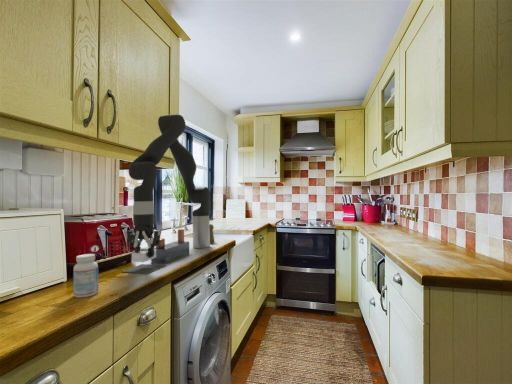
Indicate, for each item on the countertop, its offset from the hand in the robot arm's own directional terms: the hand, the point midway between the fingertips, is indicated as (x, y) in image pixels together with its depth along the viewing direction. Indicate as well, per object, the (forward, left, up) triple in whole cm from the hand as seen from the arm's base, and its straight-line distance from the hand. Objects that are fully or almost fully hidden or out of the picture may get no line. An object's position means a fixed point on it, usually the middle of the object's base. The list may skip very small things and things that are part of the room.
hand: (144, 256), depth 105 cm
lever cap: (0, 0, -1) cm, 1 cm away
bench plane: (-15, +12, -5) cm, 20 cm away
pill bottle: (+21, -17, -5) cm, 28 cm away
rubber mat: (0, 0, -5) cm, 5 cm away
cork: (-48, +39, -5) cm, 62 cm away
